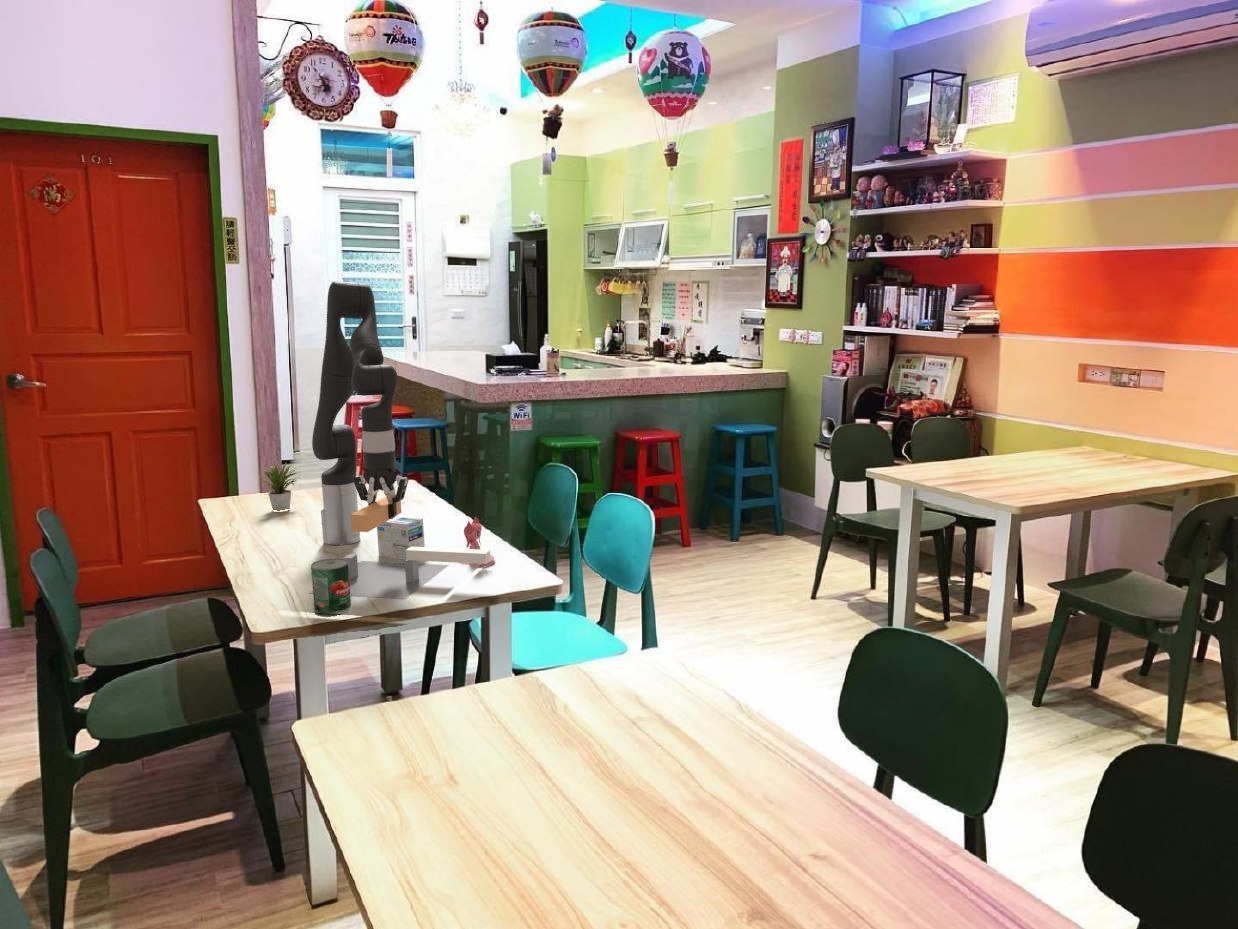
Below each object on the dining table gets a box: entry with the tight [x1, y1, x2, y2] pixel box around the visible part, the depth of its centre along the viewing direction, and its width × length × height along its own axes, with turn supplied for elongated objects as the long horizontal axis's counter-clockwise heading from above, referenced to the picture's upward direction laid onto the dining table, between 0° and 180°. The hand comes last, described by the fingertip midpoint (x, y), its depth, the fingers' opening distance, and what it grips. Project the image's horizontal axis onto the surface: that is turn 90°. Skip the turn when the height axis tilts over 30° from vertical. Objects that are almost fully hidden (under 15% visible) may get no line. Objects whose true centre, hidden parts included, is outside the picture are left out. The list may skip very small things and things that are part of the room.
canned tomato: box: [310, 557, 352, 618], centre depth 198 cm, size 8×8×11 cm
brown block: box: [351, 496, 402, 533], centre depth 215 cm, size 4×18×4 cm, turn 168°
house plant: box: [259, 461, 303, 511], centre depth 290 cm, size 14×14×16 cm
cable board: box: [308, 553, 449, 600], centre depth 217 cm, size 24×26×6 cm
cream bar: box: [406, 546, 491, 565], centre depth 213 cm, size 20×3×2 cm, turn 79°
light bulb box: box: [376, 515, 426, 560], centre depth 237 cm, size 11×7×11 cm, turn 65°
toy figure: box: [459, 516, 495, 569], centre depth 232 cm, size 10×10×12 cm
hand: (383, 517), depth 218 cm, fingers closed on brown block, 4 cm apart
